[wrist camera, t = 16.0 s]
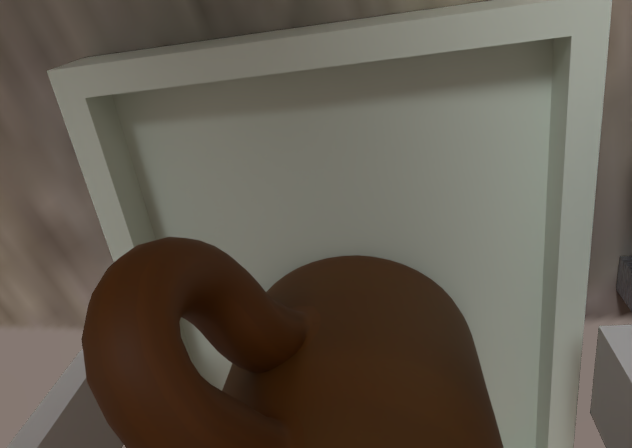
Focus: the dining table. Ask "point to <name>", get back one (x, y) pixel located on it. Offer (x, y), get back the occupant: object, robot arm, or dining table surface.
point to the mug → (283, 355)
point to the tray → (376, 169)
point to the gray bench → (625, 280)
